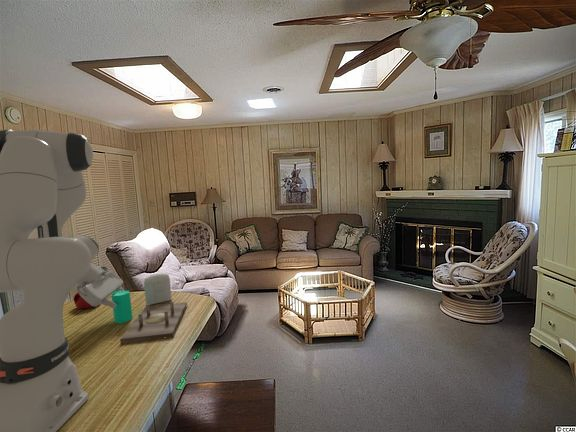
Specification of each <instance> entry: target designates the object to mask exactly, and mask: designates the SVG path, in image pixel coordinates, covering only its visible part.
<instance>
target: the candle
mask: <svg viewBox="0 0 576 432" xmlns="http://www.w3.org/2000/svg"><path fill="white" fill-rule="evenodd" d="M110 296H111V301H113V302H114V301H115V302H116V303H118V305H117V306H116V307H115V308H112V312H113V320H114V323H115V324H122V323H123V324H124V323H127V322H129V321H131V320H132V319H133V309H132V300H131V291H129V290H124V291H121V290H120V291H118V292H116V291H115V292H114V293H112V294H111V295H110Z"/></svg>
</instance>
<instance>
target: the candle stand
mask: <svg viewBox="0 0 576 432" xmlns="http://www.w3.org/2000/svg"><path fill="white" fill-rule="evenodd" d="M187 303H188V302H180V303H179V302H177V303H174V301H170V302H169V303H167V304H157V305H150V304H146V303H145V307H144V309H142V311H141V312H140V313H138V314H137V315H138V316H137V317H136V318H135V319H134V321H133V322H132V324H131V325H130V326H129V327H128V329H127V330H126V331H125V333H123V335H122V336H121V338H120V339H119V341H120V344H127V343H129V344H130V343H137V341H138V342H145V341H144V340H146V341H151V339H155V340H160V339H159V338H163V339H165V338H164V337H171V338H174V336H173V335H175V334H176V331H177V329H178V327H179V325H178V324H180V322H181V320H182V318H183V316H184V313H185V311H186V309H185V308H187V307H186V305H187V306H188V304H187ZM184 310H185V311H184ZM183 312H184V313H183ZM182 315H183V316H182ZM181 317H182V318H181ZM180 319H181V320H180ZM179 321H180V322H179ZM177 326H178V327H177ZM176 328H177V329H176ZM174 333H175V334H174Z"/></svg>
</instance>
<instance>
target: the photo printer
mask: <svg viewBox="0 0 576 432" xmlns="http://www.w3.org/2000/svg"><path fill="white" fill-rule="evenodd" d="M143 283H144V286H143V287H144V296H145V305H146V304H150V306H153V305H156V304H159V303H164V302H169V301H171V300H172V291H171V278H170V276H169V274H168V273H155V274H152V275H149V276H147V277H145V278H144V282H143Z"/></svg>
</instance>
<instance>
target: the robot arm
mask: <svg viewBox="0 0 576 432" xmlns="http://www.w3.org/2000/svg"><path fill="white" fill-rule="evenodd" d="M93 159H94V151H93V148H92V145H91V144H90V140H89V139H88V138H87V137H85V135H83V134H79V133H77V132H70V131H69V132H68V133H67V132H62V131H61V132H60V131H54V130H53V131H52V130H42V129H20V130H17V129H15V130H13V129H1V130H0V293H8V292H16V291H22V292H23V302H22V303H20V304H17V305H16V306H14V307H13V308H11V309H10V310H8V311H7V312H5V313H4V314H3V315H2V316H1V318H0V432H58V430H59V429H61V428H62V427H63V425H64V424H65V423H66V422H67V421H68V420H69V419H70V418H71V417H73V415H74V414H75V413H76V412H77V411H78V410H79V409H80V408H81V407H82V406H83V405H84V404H85V403H86V402H87V400H88V399H89V395H88V393H87V392H86V391H84V390H83V387H82V383H81V380H80V376H79V372H78V368H77V366H76V364H74V363H73V361H72V360H71V358H70V356H69V354H70V344H69V342H68V341H69V340H68V338H67V337H66V336H65V328H64V327H65V326H64V311H63V310H64V306H65V301H66V299H67V296H68V295H69V293H70V292H71V290H72V288H73V287H75V286H76V290H77V293H78V292H79V293H80V296H81V297H82V298H83V299H84V300H85V301H86V302H88V303H89V304H90V305H91V306H94V307H96V308H97V307H98V306H99V305H100V304H102V305H103V306H108V307H110V308H111V309H113V308H115V307H116V306H117V305H118V303H116V302H115V301H114V302H113V301H112V299H110V298H109V297H110V296H111V295H112V294H113V293H115V292H118V291H120V290H121V291H125V289H124V288H123V287H122V285H123V284H124V283H125V282H124V281H123V279H122V278H121V277H120V276H119V275H118V274H116V273H114V272H113V271H111V270H110V268H109V267H108V266H106V265H104V266H103V265H99V266H98V265H95V264H94V263H92V261H93V260H94V259H95V258H96V257H97V256H98V255H99V253H100V249H99V244H98V243H97V242H96V241H95V240H94V238H91V237H90V236H87V235H78V236H76V237H67V236H64V237H63V235H62V234H63V228H64V226H65V224H66V222H68V220H69V219H70V217H71V216H72V215H73V214H74V213H75V212H77V211H78V209H80V208H81V207H82V205H83V204H84V203H85V201H86V198H87V197H86V196H87V188H86V183H85V179H84V174H83V171H85V170H87V169H88V168H90V167H91V166H92V162H93ZM36 229H37V230H36ZM34 230H36V231H37V238H29V236H30V235H31V233H32V232H34Z"/></svg>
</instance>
